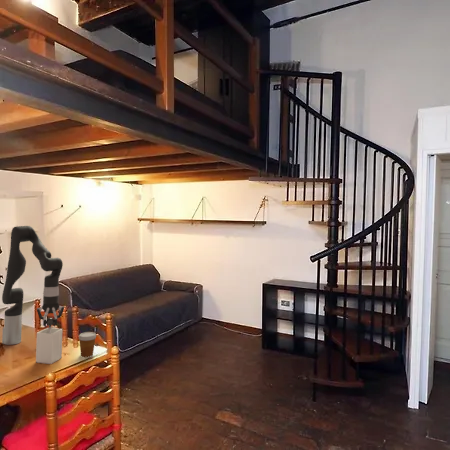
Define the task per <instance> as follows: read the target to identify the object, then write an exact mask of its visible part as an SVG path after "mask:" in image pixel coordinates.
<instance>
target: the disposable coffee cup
mask: <svg viewBox="0 0 450 450" xmlns="http://www.w3.org/2000/svg"><path fill="white" fill-rule="evenodd" d="M96 337H97V333H95V332H93V331H85V332H82V333H80V334H79V336H78V340H79V349H80V356H82V357H81V358H90V356H91V357H92V356H93V355H94V349H95V343H96Z"/></svg>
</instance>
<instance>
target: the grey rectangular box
mask: <svg viewBox="0 0 450 450" xmlns="http://www.w3.org/2000/svg"><path fill="white" fill-rule="evenodd" d="M55 328H56V327H55ZM55 328H51V334H50V333H49V327H47V328H46V327H45V328H44V329H42V330H40V331H37V332H36V344H35V345H36V346H35V348H36V349H35V351H36V352H35V363H37V364H48V365H52V364H54V363H56V362H58V361H59V360H60V359H62V358H63V357H62V353H63V352H62V351H63V328H58V329H55Z"/></svg>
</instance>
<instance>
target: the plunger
mask: <svg viewBox="0 0 450 450" xmlns="http://www.w3.org/2000/svg"><path fill="white" fill-rule="evenodd" d="M46 326H48V328H49V333H50V334H51V327H52V326H54V318H52V317H48V318H46Z"/></svg>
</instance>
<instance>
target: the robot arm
mask: <svg viewBox="0 0 450 450" xmlns="http://www.w3.org/2000/svg"><path fill="white" fill-rule="evenodd" d="M25 242H31V243H32V246H31V253H32V254H33V255H34V256H35V258H36V259H37V260H38V261H39V265H40V267H41V270H43V271H44V272H51V273H50V274H48V275H45V276H44V279H43V280H44V283H43V285H44V286H43V293H42V294H43V296H42V297H43V298H42V306H41V307H37V308H36V312H37V314H38V318H39V320H42V321H43V323H42V324H43V327H45V328H46V327H47V324H46V321H47V317H48V315H49V314H53V317H54V318H53V319H54V324H53V326H55V327H56V325H58V319H60V318H62V316H63V312H64V310H65V306H61V305H60V303H59V299H60V289H59V288H60V287H59V283H60V280H59V279H60V276H61V273H62V269H63V265H64V264H63V261H62V259H61V258H59V257H52V253H51V252H50V250H48V248H47V247H45V245H44V244H43V242H42V240H41V238H40V237H39V236H38V234H37V232H36V230H35V229H34V227H32V226H31V225H19V226H18V225H17V226H14V227H12V230H11V231H10V248H9V249H10V250H9V257H8V262H7V266H6V267H7V268H6V276H5V277H6V278H5V282H4V287H3V290H2V294H1V295H2V297H1V301H2V304H3V305H12V304H13V306H11V307H9V308H7V309H6V310H5V311H4V319H3V321H4V323H3V325H4V326H3V327H2V336H1V337H2V339H1V344H3V345H6V346H7V345H8V346H10V345H11V346H12V345H18V344H20V343H22V325H23V307H24V306H23V305H24V304H23V303H24V289H23V288H21V287H16V288H15V287H14V285H15V284H16V282H17V281H18V280H19V279H20V278H21V277H23V274H25V270H26V265H27V260H26V257H25V256H24V254H23V253H22V251H21V249H20V244H21V243H25ZM13 287H14V288H13ZM58 310H59V313H58V315H57V311H58ZM42 311H43V312H44V315H43V316H42V313H41V312H42Z"/></svg>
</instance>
